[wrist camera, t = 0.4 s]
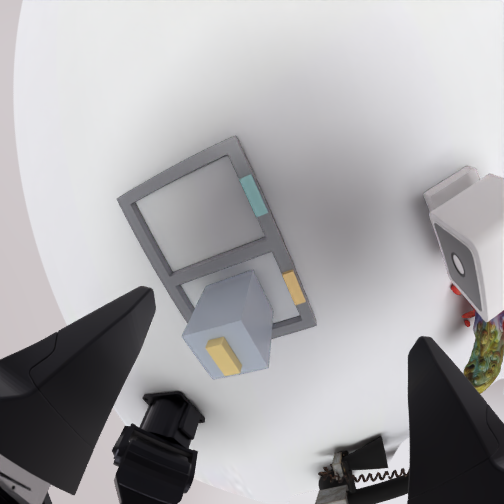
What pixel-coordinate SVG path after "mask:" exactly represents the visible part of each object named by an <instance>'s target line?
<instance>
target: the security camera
mask: <svg viewBox="0 0 504 504" xmlns="http://www.w3.org/2000/svg"><path fill="white" fill-rule="evenodd" d="M424 198H425V201H426V204H427V206H428V209H429V211H430V213H429V217H430V220H431V223H432V226H433V228H434V231H435V234H436V237H437V240H438V243H439V246H440V249H441V253H442V256H443V259H444V263H445V266H446V270H447V273H448V276H449V278H450V280H451V281H452V283H453V284H454V285H455V286H456V288H457V289H458V290H459V291H460V292H461V293H462V294H463V296H464V297H465V298H466V299H467V300H468V301H469V303H470V304H471V305H472V306H473V307H474V309H475V310H476V311H477V312H478V314H479V315H480V316H481V317H482V319H483V320H484V321H485V322H488V321H490V320H491V319H493V318H494V317H495V316H497V315H498V314H499V313H501V312H502V311H503V310H504V178H501V177H498V176H496V175H493V174H488V175H486V176H485V177H483V178H482V179H480V177H479V174H478V171H477V169H476V168H473V167H469V166H466V167H464V168H463V169H461V170H459V171H458V172H456V173H455V174H453V175H452V176H450V177H448V178H447V179H445V180H444V181H442V182H440V183H439V184H437V185H436V186H434V187H432V188H431V189H429V190H427V191H426V192H425V193H424Z"/></svg>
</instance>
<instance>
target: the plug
mask: <svg viewBox="0 0 504 504" xmlns="http://www.w3.org/2000/svg"><path fill="white" fill-rule="evenodd" d="M272 324H273V310H272V308H271V306H270V304H269V301H268V299H267V297H266V295H265V293H264V291H263V289H262V287H261V285H260V283H259V281H258V279H257V277H256V275H255V273H254V271H253V270H250V271H248V272H245V273H242V274H239V275H236V276H233V277H230V278H228V279H225V280H222V281H219V282H216V283H213V284H210V285H207V286H206V287H205V289H204V291H203V293H202V295H201V297H200V299H199V301H198V303H197V305H196V307H195V310H194V312H193V314H192V316H191V318H190V320H189V322H188V324H187V326H186V328H185V330H184V332H183V334H182V338H183V339H184V340H185V342H186V343H187V345H188V346H189V348H190V349H191V350H192V352H193V353H194V355H195V356H196V357H197V359H198V360H199V362H200V363H201V364H202V366H203V367H204V368H205V370H206V371H207V372H208V374H209V375H210V376H211V378H212V379H218V378H224V377H229V376H234V375H239V374H244V373H249V372H253V371H258V370H262V369H266V368H269V358H270V347H271V336H272Z"/></svg>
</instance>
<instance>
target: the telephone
mask: <svg viewBox="0 0 504 504" xmlns="http://www.w3.org/2000/svg"><path fill="white" fill-rule="evenodd" d="M330 466H331V467H332V468H333V470H331V471H328V468H327V467H324V468H323V469H324V470H325V471H326V472H319V473H318V474H319V475H320V476H322V477H321V478H320V480H319V489H320V490H319V493H318V497H317V500H316V503H315V504H376V503H379V502H383V501H386V500H390V499H393V498H396V497H399V496H402V495H405V494H407V493H408V490H409V471H408V473H407V474H405V470H404V468H403V469H401V473H400V475H398V474H397V471H396V470H394V471H393V472H392V475H391V477H390V476H388V478H389V479H391V480H388V481H385V482H381V483H378V484H375V485H371V486H367V487H364V488H360V489H356V487H355V483H354V482H359V481H360V479H361V477H362V479H363V482H366V481H368V479H369V477H370V478H371V480H372V481H373V482H374V481H375V480H376V479H377V477H378V475H379V479H380V480H384V478H385V476H386V475H389V473H388V471H385V473H384V475H383V478H382V477H381V474H380V473H379V472H378V473H377V475H376V477H375V478H374V479H373V478H372V474H370V473H369V474H368V476H367V478H366V480H365V478H364V475H363V474H361V475H360V476H359V479H358V481H357V478H356V477H355V476H354V475H352V470H366V469H381V468H388V464H387V459H386V454H385V450H384V445H383V441H382V437H379V438H378V439H376V440H374V441H373V442H371V443H369V444H367V445H365V446H364V447H362V448H360V449H358V450H356V451H354V452H352V453H351V454H348V452H347V451H344V452H343V453H342V451H341V452H337V453H334V458H333V463H332V464H330ZM409 469H410V468H409ZM394 473H395V475H396V477H397V478H394V479H392V478H393V476H394ZM402 473H403V476H401V475H402Z"/></svg>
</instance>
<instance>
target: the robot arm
mask: <svg viewBox="0 0 504 504" xmlns="http://www.w3.org/2000/svg"><path fill="white" fill-rule="evenodd" d="M155 310H156V305H155V298H154V292H153V289H151V288H149V287H145V286H140V287H138V288H136V289H134V290H132V291H130V292H128V293H127V294H125V295H123V296H121V297H119V298H117V299H115V300H114V301H112V302H110V303H108V304H106V305H104V306H103V307H101V308H99V309H97V310H95V311H93V312H92V313H90V314H88V315H86V316H84V317H82V318H81V319H79V320H77V321H75V322H73V323H72V324H70V325H68V326H66V327H64V328H63V329H61V330H59V331H58V332H55V333H54V334H52V335H50V336H48V337H47V338H45V339H43V340H41V341H39V342H37V343H35V344H33V345H31V346H29V347H27V348H25V349H23V350H21V351H18V352H16V353H14V354H11V355H9V356H7V357H5V358H3V359H0V504H52V502H51V500H50V497H49V494H48V489H49V487H50V485H53V486H55V487H57V488H59V489H61V490H63V491H66V492H68V493H70V494H72V495H75V493H76V491H77V489H78V486H79V484H80V481H81V479H82V476H83V474H84V471H85V469H86V467H87V464H88V462H89V460H90V457H91V455H92V453H93V449H94V447H95V445H96V443H97V441H98V438H99V436H100V434H101V432H102V430H103V427H104V425H105V423H106V421H107V419H108V416H109V414H110V412H111V410H112V408H113V406H114V404H115V401H116V399H117V397H118V395H119V393H120V391H121V389H122V387H123V385H124V383H125V381H126V379H127V377H128V375H129V373H130V371H131V369H132V367H133V365H134V363H135V361H136V359H137V357H138V355H139V353H140V351H141V348H142V346H143V343H144V340H145V338H146V335H147V332H148V330H149V327H150V324H151V322H152V319H153V317H154V314H155ZM143 400H144V401H145V402H146V403H147V404H148V405H149V407H148V409H147V412H146V414H145V416H144V418H143V421H142V423H141V425H140V427H137V426H136V425H135V424H133V423H132V424H131V426H125V427H124V429H123V431H122V433H121V435H120V437H119V439H118V441H117V442H116V444H115V446H114V447H113V450H112V452H113V454H114V459H115V460H114V465H116V466H118V467H119V468H118V470H117V472H116V476H115V479H114V482H115V487H116V491H117V495H118V498H119V502H120V504H177V503H179V502H180V501H181V499H182V496H183V493H187V492H188V490H189V488H190V486H191V484H192V481H193V478H194V474H195V467H196V460H197V453H198V451H196V450H191V449H189V445H190V442H191V440H193V439H194V436H195V433H196V430H197V426H198V423H204V422H205V418H204V417H203V416H202V415H201V414H200V413H199V412H198V411H197V410H196V408H195V407H194V406H193V405H192V404H191V403H190V402H189V401H188V400H187V398H186V397H185V396H184V395H183V394H182V393H181V392H170V393H161V394H150V395H144V396H143ZM408 408H409V430H410V469H409V490H408V501H407V504H504V423H503V422H502V421H501V420H500V419H499V417H498V416H497V415H496V414H495V412H494V411H493V410H492V409H491V407H490V406H489V405H488V404H487V402H486V401H485V400H484V398H483V397H482V396H481V395H480V393H479V392H478V391H477V390H476V389H475V387H474V386H473V385H472V384H471V383H470V381H469V380H468V379H467V378H466V377H465V375H464V374H463V373H462V372H461V371H460V369H459V368H458V367H457V366H456V365H455V364H454V363H453V361H452V360H451V359H450V358H449V357H448V356H447V355H446V353H445V352H444V351H443V350H442V349H441V348H440V347H439V346H438V344H437V343H436V342H435V341H434V340H433V339H432V338H431V337H426V336H421V337H419V338H418V340H417V341H416V343H415V344H414V346H413V347H412V349H411V350H410V352H409V355H408ZM129 441H130V442H129Z"/></svg>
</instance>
